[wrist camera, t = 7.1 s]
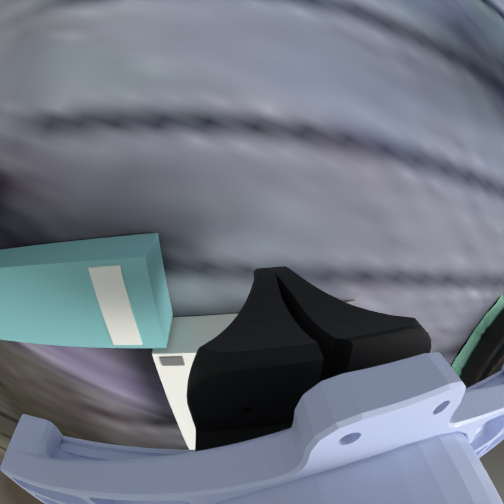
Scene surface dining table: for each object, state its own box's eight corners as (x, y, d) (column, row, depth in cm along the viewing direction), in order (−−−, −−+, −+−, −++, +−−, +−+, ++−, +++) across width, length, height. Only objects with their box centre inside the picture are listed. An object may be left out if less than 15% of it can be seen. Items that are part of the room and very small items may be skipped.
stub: (173, 314, 16) (166, 349, 14) (19, 314, 15) (-1, 340, 13) (158, 232, 14) (144, 257, 12) (-5, 250, 13) (-31, 270, 11)
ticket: (330, 411, 22) (341, 440, 19) (193, 426, 22) (192, 457, 19) (355, 300, 18) (377, 332, 15) (160, 317, 17) (151, 355, 14)
